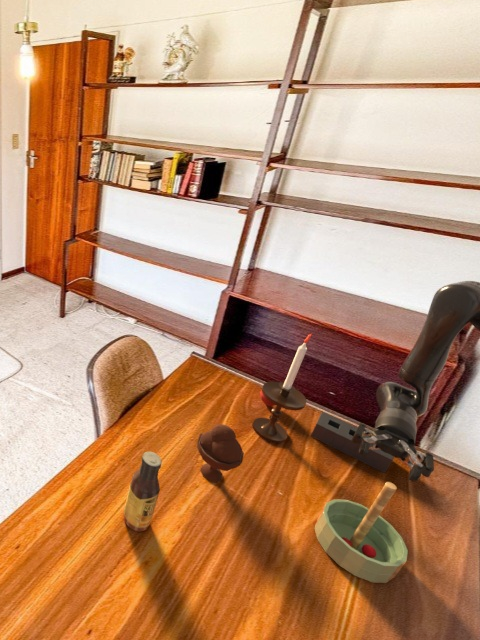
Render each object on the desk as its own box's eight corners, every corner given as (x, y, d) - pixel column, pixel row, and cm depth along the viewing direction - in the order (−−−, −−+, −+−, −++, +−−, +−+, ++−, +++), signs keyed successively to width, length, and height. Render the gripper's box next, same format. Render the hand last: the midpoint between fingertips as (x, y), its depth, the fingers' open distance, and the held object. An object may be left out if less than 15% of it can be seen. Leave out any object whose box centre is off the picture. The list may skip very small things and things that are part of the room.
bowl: (397, 549, 88) (410, 531, 86) (389, 601, 79) (404, 582, 76) (321, 505, 98) (331, 487, 95) (307, 546, 88) (317, 528, 85)
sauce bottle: (141, 539, 88) (157, 478, 80) (117, 519, 92) (130, 460, 84) (155, 519, 93) (172, 459, 84) (131, 501, 97) (145, 443, 88)
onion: (272, 399, 132) (279, 380, 128) (280, 412, 126) (288, 392, 123) (254, 397, 132) (261, 379, 129) (261, 410, 127) (269, 390, 123)
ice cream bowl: (180, 462, 107) (193, 421, 101) (212, 452, 111) (226, 411, 105) (210, 496, 98) (225, 454, 92) (243, 483, 102) (260, 442, 96)
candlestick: (280, 420, 123) (320, 324, 108) (296, 447, 113) (343, 347, 98) (243, 415, 124) (278, 320, 109) (256, 442, 115) (296, 342, 100)
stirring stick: (357, 546, 88) (397, 485, 80) (356, 551, 87) (396, 491, 79) (348, 540, 89) (386, 480, 81) (347, 545, 88) (385, 485, 80)
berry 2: (374, 560, 86) (381, 553, 85) (366, 560, 85) (373, 553, 84) (364, 549, 88) (371, 542, 87) (356, 549, 87) (363, 542, 86)
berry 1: (353, 552, 87) (352, 551, 85) (339, 548, 88) (337, 548, 87) (351, 539, 88) (350, 539, 86) (338, 536, 89) (336, 535, 88)
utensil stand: (388, 457, 111) (396, 445, 109) (384, 473, 107) (392, 460, 105) (316, 423, 123) (322, 411, 120) (310, 436, 118) (316, 423, 116)
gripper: (366, 403, 103) (355, 436, 92) (441, 434, 94) (438, 474, 83) (355, 424, 106) (343, 458, 96) (426, 456, 97) (422, 498, 87)
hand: (388, 466), depth 90 cm, fingers open, 8 cm apart
